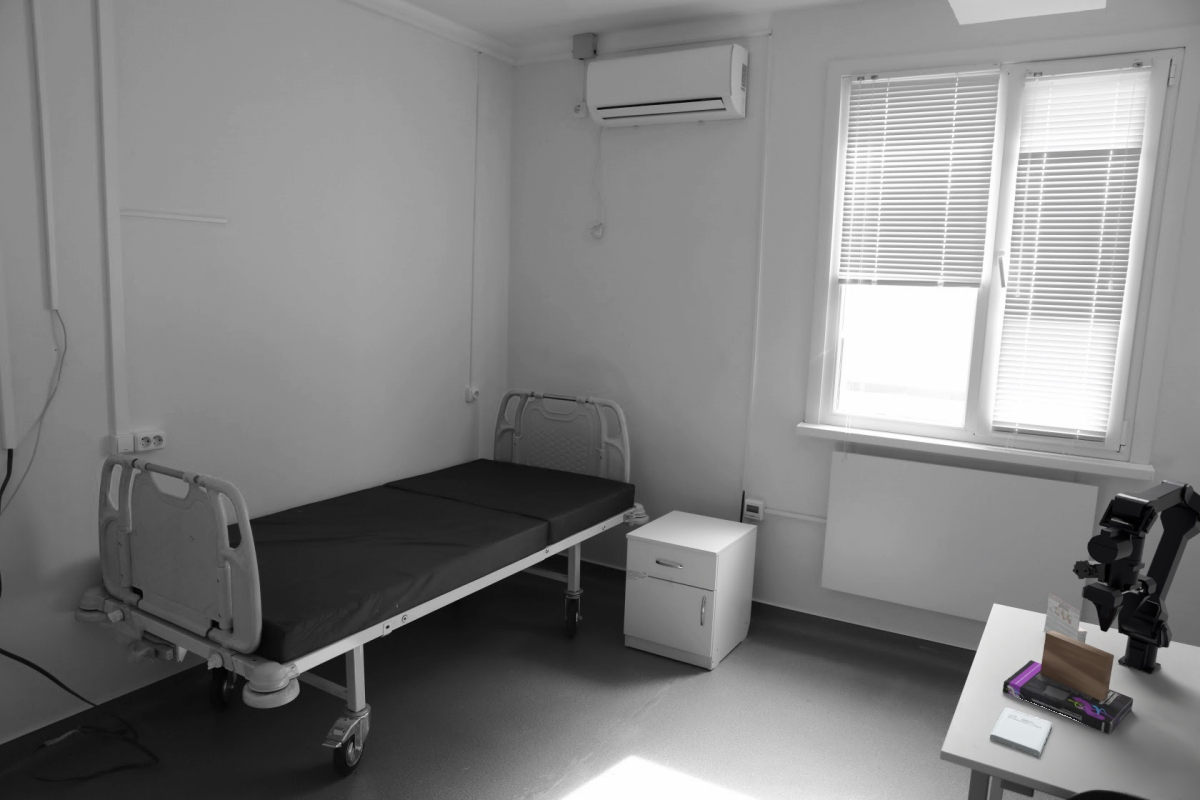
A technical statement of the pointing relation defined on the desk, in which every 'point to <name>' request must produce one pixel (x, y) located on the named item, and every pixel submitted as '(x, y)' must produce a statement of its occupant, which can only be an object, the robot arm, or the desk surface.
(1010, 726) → the external hard drive
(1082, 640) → the ink cartridge box
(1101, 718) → the box
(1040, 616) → the desk surface
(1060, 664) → the walnut board
